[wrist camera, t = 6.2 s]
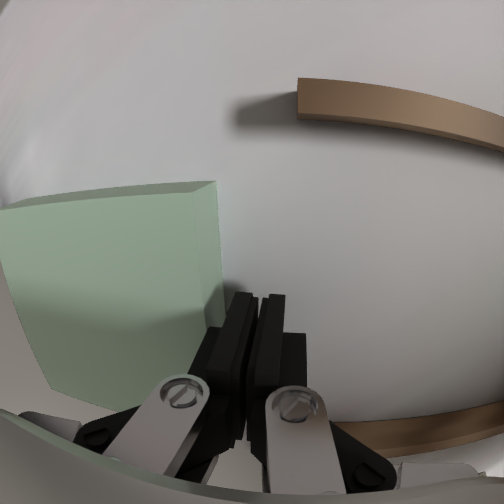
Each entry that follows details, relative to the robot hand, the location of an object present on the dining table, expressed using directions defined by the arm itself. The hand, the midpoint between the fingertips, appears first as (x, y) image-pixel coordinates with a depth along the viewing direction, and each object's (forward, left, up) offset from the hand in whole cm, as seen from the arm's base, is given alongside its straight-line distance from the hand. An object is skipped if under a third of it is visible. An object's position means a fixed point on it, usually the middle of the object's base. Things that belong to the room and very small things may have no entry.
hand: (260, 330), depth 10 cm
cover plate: (+7, 0, -2) cm, 7 cm away
